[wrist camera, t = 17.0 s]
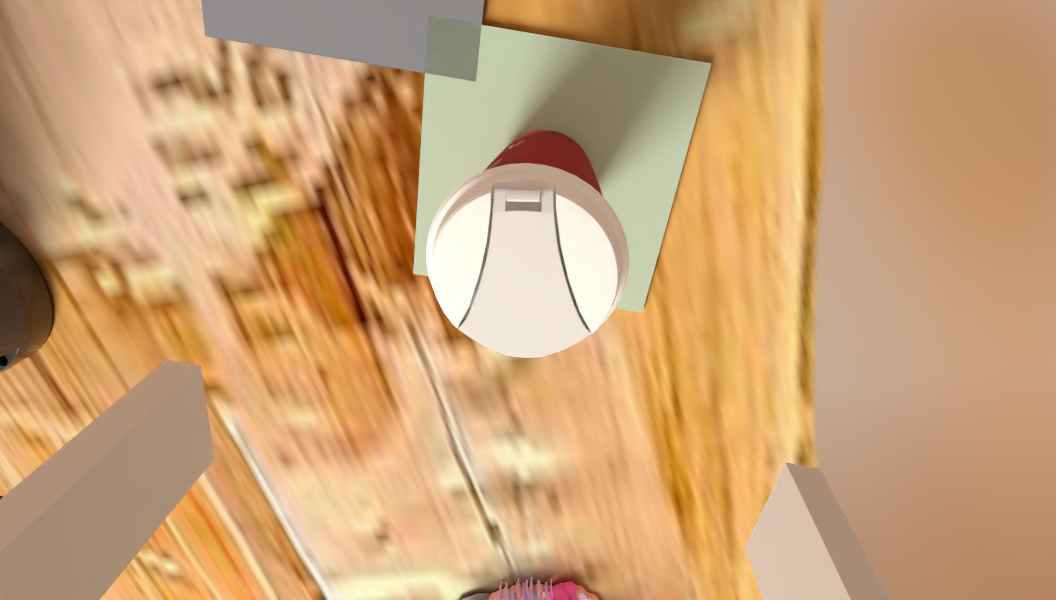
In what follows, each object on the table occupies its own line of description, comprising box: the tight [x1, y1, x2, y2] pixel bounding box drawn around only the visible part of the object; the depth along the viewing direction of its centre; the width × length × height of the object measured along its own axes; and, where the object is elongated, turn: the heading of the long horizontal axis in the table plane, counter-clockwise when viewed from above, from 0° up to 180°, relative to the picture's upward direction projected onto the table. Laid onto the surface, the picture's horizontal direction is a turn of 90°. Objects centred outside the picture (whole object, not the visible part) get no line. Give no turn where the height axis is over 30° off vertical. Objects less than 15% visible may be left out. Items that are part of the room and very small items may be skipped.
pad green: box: [413, 16, 711, 312], centre depth 35 cm, size 16×16×1 cm
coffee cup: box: [426, 130, 629, 358], centre depth 28 cm, size 8×8×15 cm
